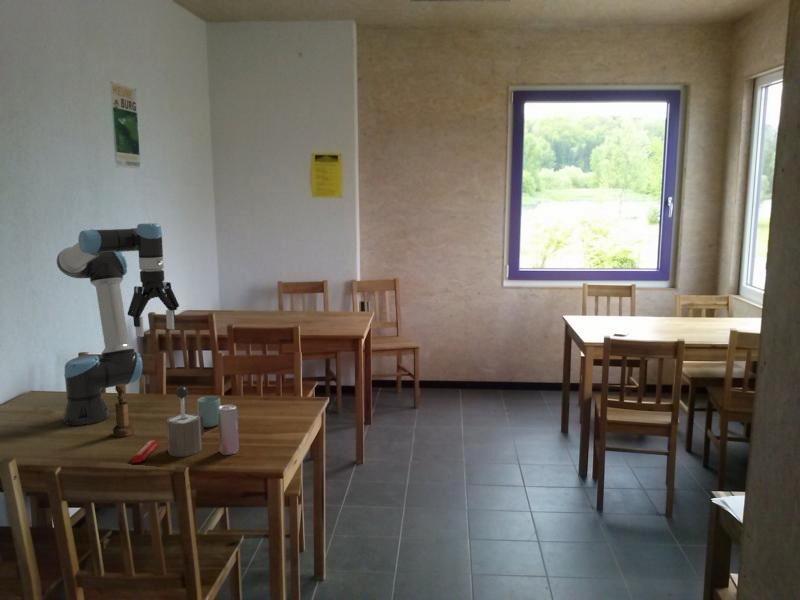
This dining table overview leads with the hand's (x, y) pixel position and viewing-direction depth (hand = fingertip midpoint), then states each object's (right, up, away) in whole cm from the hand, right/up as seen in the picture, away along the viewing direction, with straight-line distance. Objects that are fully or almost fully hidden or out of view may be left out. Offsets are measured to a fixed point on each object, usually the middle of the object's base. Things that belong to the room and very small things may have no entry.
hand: (155, 332), depth 214 cm
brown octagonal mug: (+13, -38, -7) cm, 41 cm away
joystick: (+13, -36, -8) cm, 39 cm away
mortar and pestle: (-14, -36, +8) cm, 40 cm away
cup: (+14, -35, +16) cm, 41 cm away
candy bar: (+1, -39, -11) cm, 41 cm away
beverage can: (+27, -38, -9) cm, 48 cm away
